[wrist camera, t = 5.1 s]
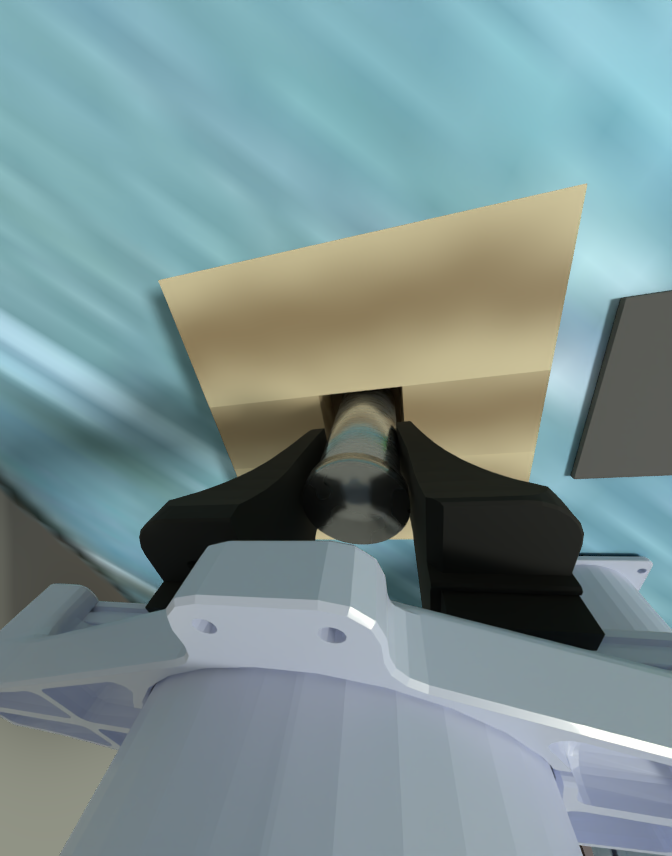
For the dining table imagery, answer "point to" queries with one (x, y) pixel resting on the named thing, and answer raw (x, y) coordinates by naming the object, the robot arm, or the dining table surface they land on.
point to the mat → (632, 396)
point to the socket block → (390, 332)
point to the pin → (359, 473)
